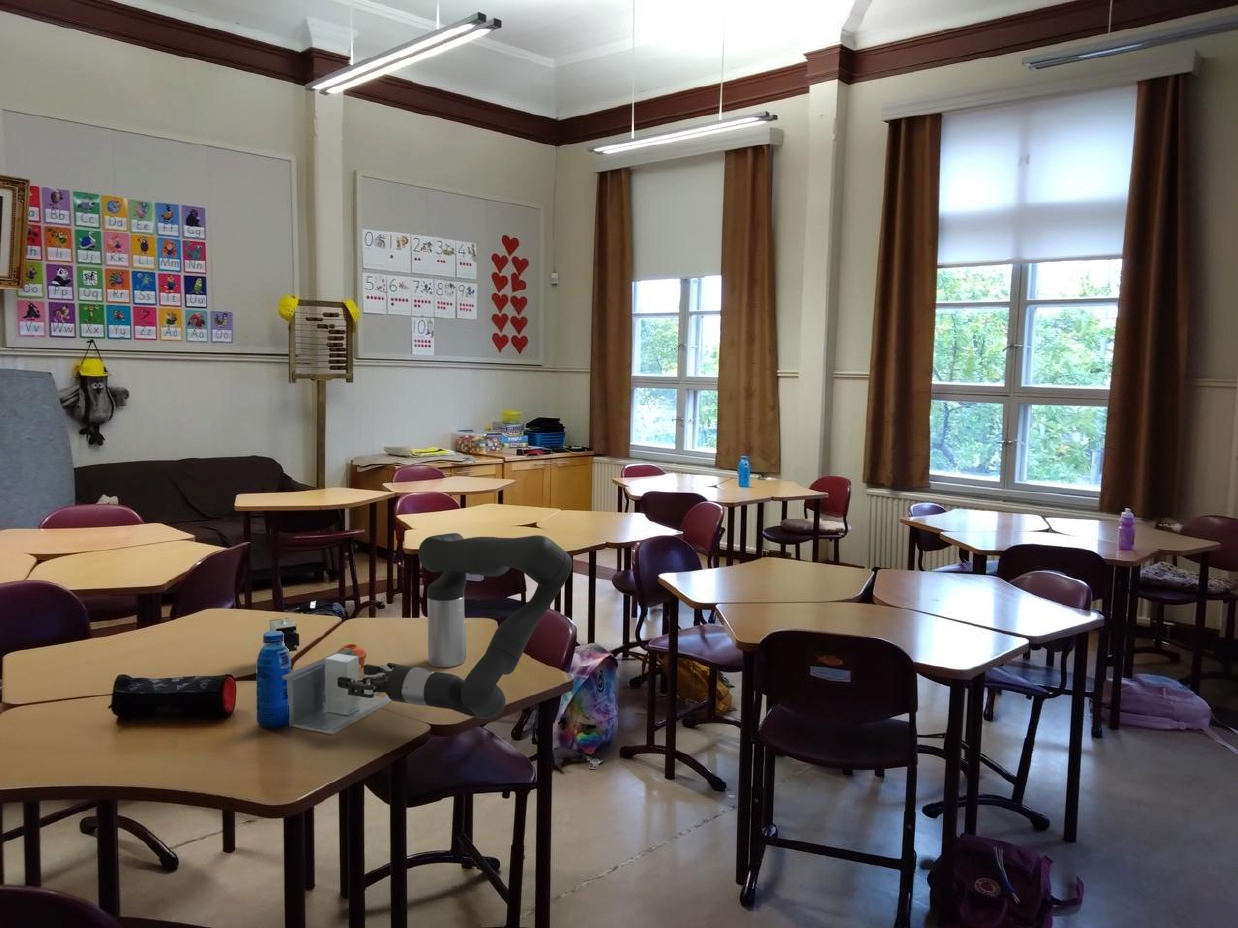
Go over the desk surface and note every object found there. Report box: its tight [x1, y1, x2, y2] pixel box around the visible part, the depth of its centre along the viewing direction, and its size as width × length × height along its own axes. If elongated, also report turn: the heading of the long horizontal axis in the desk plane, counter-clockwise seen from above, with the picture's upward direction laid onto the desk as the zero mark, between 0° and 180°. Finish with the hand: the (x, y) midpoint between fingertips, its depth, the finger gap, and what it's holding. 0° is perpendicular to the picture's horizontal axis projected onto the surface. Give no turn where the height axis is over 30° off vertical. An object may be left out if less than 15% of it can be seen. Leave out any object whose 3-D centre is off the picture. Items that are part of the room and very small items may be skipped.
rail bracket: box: [281, 649, 393, 735], centre depth 192 cm, size 20×13×11 cm, turn 158°
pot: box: [337, 643, 368, 669], centre depth 221 cm, size 8×8×7 cm
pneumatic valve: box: [269, 617, 300, 657], centre depth 223 cm, size 6×12×12 cm, turn 32°
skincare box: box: [324, 654, 360, 715], centre depth 192 cm, size 6×4×12 cm
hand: (351, 675), depth 191 cm, fingers open, 8 cm apart
